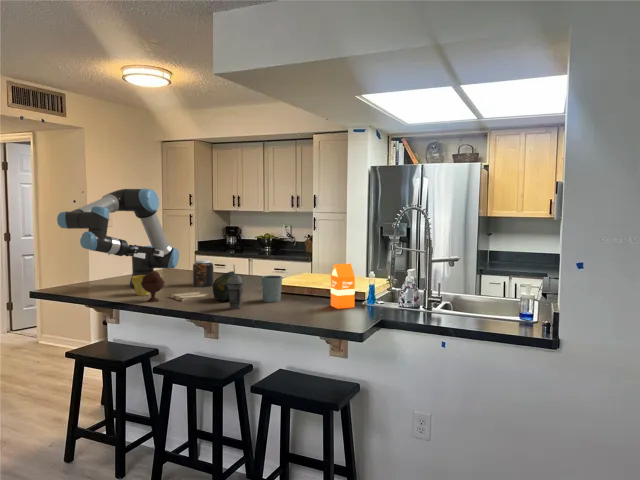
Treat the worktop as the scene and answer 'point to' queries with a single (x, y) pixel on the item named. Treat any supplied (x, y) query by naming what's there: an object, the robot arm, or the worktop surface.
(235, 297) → the beverage cup
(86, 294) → the worktop surface
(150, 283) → the ice cream bowl
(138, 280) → the plant pot
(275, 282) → the blue-grey cup
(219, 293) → the squash
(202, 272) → the jar
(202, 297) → the trivet
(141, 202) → the robot arm
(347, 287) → the orange juice
